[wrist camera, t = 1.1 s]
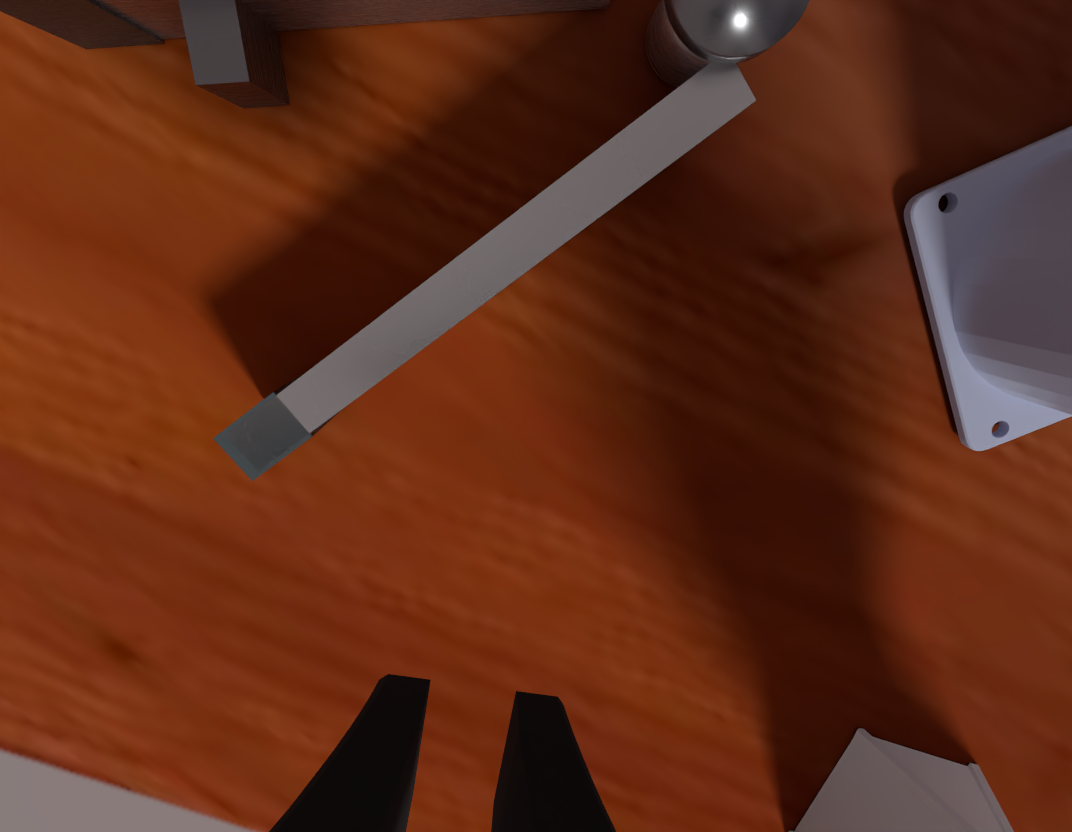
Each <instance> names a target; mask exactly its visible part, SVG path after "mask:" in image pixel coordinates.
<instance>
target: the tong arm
mask: <svg viewBox="0 0 1072 832" xmlns="http://www.w3.org/2000/svg"><path fill="white" fill-rule="evenodd" d="M645 48H646V54H647V58H648V61H649V64H650V65H651V67H652V69H653V71H654V72H655V74H656V75H657V76H658V77H659V78H660V79H661V80H663V81H664V82H666V83H667V84H669V85H671V86H674V87H678V88H677V89H675V90H674V91H673V92H672V93H670V94H669V95H668V96H666V97H665V98H664V99H662V100H661V101H660V102H658V103H657V104H656V105H655V106H653V107H652V108H651V109H649V110H648V111H647V112H645V113H644V114H643V115H642V116H640V117H639V118H638V119H636V120H635V121H634V122H632V123H631V124H630V125H628V126H627V127H626V128H625V129H623V130H622V131H621V132H619V133H618V134H617V135H615V136H614V137H613V138H611V139H610V140H609V141H608V142H606V143H605V144H604V145H602V146H601V147H600V148H598V149H597V150H596V151H595V152H593V153H592V154H591V155H589V156H588V157H587V158H585V159H584V160H583V161H581V162H580V163H579V164H578V165H576V166H575V167H574V168H572V169H571V170H570V171H568V172H567V173H566V174H565V175H563V176H562V177H561V178H559V179H558V180H557V181H555V182H554V183H553V184H551V185H550V186H549V187H548V188H546V189H545V190H544V191H542V192H541V193H540V194H538V195H537V196H536V197H534V198H533V199H532V200H531V201H529V202H528V203H527V204H525V205H524V206H523V207H521V208H520V209H519V210H518V211H516V212H515V213H514V214H512V215H511V216H510V217H508V218H507V219H506V220H504V221H503V222H502V223H501V224H499V225H498V226H497V227H495V228H494V229H493V230H491V231H490V232H489V233H487V234H486V235H485V236H484V237H482V238H481V239H480V240H478V241H477V242H476V243H474V244H473V245H472V246H471V247H469V248H468V249H467V250H465V251H464V252H463V253H461V254H460V255H459V256H457V257H456V258H455V259H454V260H452V261H451V262H450V263H448V264H447V265H446V266H444V267H443V268H442V269H440V270H439V271H438V272H437V273H435V274H434V275H433V276H431V277H430V278H429V279H427V280H426V281H425V282H424V283H422V284H421V285H420V286H418V287H417V288H416V289H414V290H413V291H412V292H410V293H409V294H408V295H407V296H405V297H404V298H403V299H401V300H400V301H399V302H397V303H396V304H395V305H394V306H392V307H391V308H390V309H388V310H387V311H386V312H384V313H383V314H382V315H380V316H379V317H378V318H377V319H375V320H374V321H373V322H371V323H370V324H369V325H367V326H366V327H365V328H363V329H362V330H361V331H360V332H358V333H357V334H356V335H354V336H353V337H352V338H350V339H349V340H348V341H347V342H345V343H344V344H343V345H341V346H340V347H339V348H337V349H336V350H335V351H333V352H332V353H331V354H330V355H328V356H327V357H326V358H324V359H323V360H322V361H320V362H319V363H318V364H316V365H315V366H314V367H313V368H311V369H310V370H309V371H307V372H306V373H305V374H303V375H301V376H300V377H298V378H296V379H295V380H293V381H291V382H289V383H288V384H286V385H284V386H283V387H281V388H279V389H278V390H276V391H274V392H273V393H272V394H270V395H269V396H268V397H266V398H265V399H264V400H262V401H261V402H260V403H259V404H257V405H256V406H255V407H253V408H252V409H251V410H249V411H248V412H247V413H246V414H244V415H243V416H242V417H240V418H239V419H238V420H236V421H235V422H234V423H233V424H231V425H230V426H229V427H227V428H226V429H225V430H223V431H222V432H221V433H219V434H218V435H217V436H216V437H214V438H213V439H214V440H215V441H216V442H217V443H218V444H219V445H220V446H221V448H222V449H223V450H224V451H225V452H226V453H227V454H228V455H229V456H230V457H231V458H232V459H233V460H234V461H235V463H236V464H237V465H238V466H239V467H240V468H241V469H242V470H243V471H244V472H245V473H246V474H247V475H248V477H249V478H250V479H251V480H252V481H253V480H254V479H256V478H257V477H258V476H260V475H261V474H262V473H264V472H265V471H266V470H268V469H269V468H270V467H272V466H273V465H274V464H276V463H277V462H279V461H280V460H281V459H283V458H284V457H285V456H287V455H288V454H289V453H291V452H292V451H293V450H295V449H296V448H297V447H299V446H300V445H301V444H303V443H304V442H305V441H307V440H308V439H309V438H311V437H312V436H313V435H314V434H315V433H317V432H318V431H319V430H320V429H321V428H322V427H323V426H324V425H325V424H326V423H327V422H329V421H330V420H331V419H332V418H333V417H334V416H335V415H336V414H337V413H338V412H339V411H341V410H342V409H343V408H344V407H346V406H347V405H348V404H350V403H351V402H352V401H354V400H355V399H356V398H358V397H359V396H360V395H362V394H363V393H364V392H366V391H367V390H368V389H370V388H371V387H372V386H374V385H375V384H376V383H378V382H379V381H380V380H382V379H383V378H384V377H386V376H387V375H388V374H390V373H391V372H392V371H394V370H395V369H396V368H398V367H399V366H401V365H402V364H403V363H405V362H406V361H407V360H409V359H410V358H411V357H413V356H414V355H415V354H417V353H418V352H419V351H421V350H422V349H423V348H425V347H426V346H427V345H429V344H430V343H431V342H433V341H434V340H435V339H437V338H438V337H439V336H441V335H442V334H443V333H445V332H446V331H447V330H449V329H450V328H452V327H453V326H454V325H456V324H457V323H458V322H460V321H461V320H462V319H464V318H465V317H466V316H468V315H469V314H470V313H472V312H473V311H474V310H476V309H477V308H478V307H480V306H481V305H482V304H484V303H485V302H486V301H488V300H489V299H490V298H492V297H493V296H494V295H496V294H497V293H498V292H500V291H501V290H502V289H504V288H505V287H507V286H508V285H509V284H511V283H512V282H513V281H515V280H516V279H517V278H519V277H520V276H521V275H523V274H524V273H525V272H527V271H528V270H529V269H531V268H532V267H533V266H535V265H536V264H537V263H539V262H540V261H541V260H543V259H544V258H545V257H547V256H548V255H549V254H551V253H552V252H553V251H555V250H556V249H557V248H559V247H560V246H562V245H563V244H564V243H566V242H567V241H568V240H570V239H571V238H572V237H574V236H575V235H576V234H578V233H579V232H580V231H582V230H583V229H584V228H586V227H587V226H588V225H590V224H591V223H592V222H594V221H595V220H596V219H598V218H599V217H600V216H602V215H603V214H604V213H606V212H607V211H608V210H610V209H611V208H612V207H614V206H615V205H617V204H618V203H619V202H621V201H622V200H623V199H625V198H626V197H627V196H629V195H630V194H631V193H633V192H634V191H635V190H637V189H638V188H639V187H641V186H642V185H643V184H645V183H646V182H647V181H649V180H650V179H651V178H653V177H654V176H655V175H657V174H658V173H659V172H661V171H662V170H663V169H665V168H666V167H667V166H669V165H670V164H672V163H673V162H674V161H676V160H677V159H678V158H680V157H681V156H682V155H684V154H685V153H686V152H688V151H689V150H690V149H692V148H693V147H694V146H696V145H697V144H698V143H700V142H701V141H702V140H704V139H705V138H706V137H708V136H709V135H710V134H712V133H713V132H714V131H716V130H717V129H718V128H720V127H721V126H723V125H724V124H725V123H727V122H728V121H729V120H731V119H732V118H733V117H735V116H736V115H737V114H739V113H740V112H741V111H743V110H744V109H745V108H747V107H748V106H749V105H751V104H752V103H753V102H755V101H756V99H755V97H754V95H753V93H752V92H751V90H750V88H749V86H748V84H747V83H746V81H745V79H744V77H743V75H742V74H741V72H740V70H739V68H738V66H737V64H736V63H733V64H722V63H715V62H711V61H708V60H705V59H703V58H701V57H699V56H697V55H696V54H694V53H693V52H691V51H690V50H689V49H688V48H687V47H686V46H685V45H684V44H683V43H682V42H681V41H680V39H679V38H678V37H677V35H676V34H675V32H674V30H673V28H672V26H671V24H670V22H669V19H668V16H667V13H666V8H665V3H664V0H661V1H660V2H659V4H658V6H657V8H656V9H655V11H654V13H653V15H652V17H651V19H650V21H649V24H648V27H647V31H646V37H645Z"/></svg>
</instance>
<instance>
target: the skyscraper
mask: <svg viewBox="0 0 1072 832" xmlns="http://www.w3.org/2000/svg"><path fill="white" fill-rule="evenodd" d="M789 832H1014V831H1013V829H1012V828H1011V826H1010V824H1009V822H1008V820H1007V818H1006V816H1005V814H1004V813H1003V811H1002V809H1001V807H1000V805H999V803H998V801H997V800H996V798H995V796H994V794H993V792H992V790H991V788H990V786H989V785H988V783H987V781H986V779H985V777H984V775H983V773H982V771H981V770H980V768H979V766H978V765H976V764H973V763H969V765H968V766H965V765H962V764H959V763H956V762H952V761H949V760H946V759H943V758H939V757H936V756H933V755H930V754H927V753H923V752H920V751H917V750H914V749H910V748H907V747H904V746H901V745H898V744H894V743H891V742H888V741H885V740H881V739H878V738H875V737H872V736H871V735H870V734H869V733H868V732H867V731H866V730H864V729H863V728H859V729H858V730H857V731H856V733H855V735H854V737H853V739H852V741H851V742H850V744H849V746H848V747H847V749H846V750H845V752H844V753H843V755H842V757H841V758H840V760H839V761H838V763H837V764H836V766H835V768H834V769H833V771H832V772H831V774H830V775H829V777H828V779H827V780H826V782H825V783H824V785H823V787H822V788H821V790H820V791H819V793H818V794H817V796H816V798H815V799H814V801H813V802H812V804H811V805H810V807H809V809H808V810H807V812H806V813H805V815H804V816H803V818H802V820H801V821H800V823H799V824H798V826H797V827H796V829H795V831H789Z"/></svg>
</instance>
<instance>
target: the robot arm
mask: <svg viewBox="0 0 1072 832" xmlns="http://www.w3.org/2000/svg"><path fill="white" fill-rule="evenodd" d="M943 195H946V197H947V199H948V205H947V207H946V209H945V210H944V211H943V212H941V211H940V209H939V207H938V202H939V200H940V198H941V196H943ZM904 221H905V225H906V229H907V233H908V237H909V241H910V245H911V249H912V253H913V257H914V261H915V265H916V269H917V273H918V276H919V280H920V284H921V288H922V292H923V296H924V300H925V304H926V308H927V312H928V316H929V320H930V324H931V328H932V332H933V336H934V340H935V344H936V348H937V352H938V356H939V360H940V364H941V368H942V372H943V376H944V380H945V384H946V388H947V391H948V395H949V399H950V403H951V407H952V411H953V415H954V419H955V423H956V427H957V431H958V435H959V439H960V441H961V443H962V444H963V445H965V446H966V447H968V448H970V449H972V450H976V451H982V450H987V449H989V448H992V447H994V446H997V445H999V444H1002V443H1004V442H1007V441H1010V440H1012V439H1015V438H1017V437H1020V436H1022V435H1025V434H1027V433H1030V432H1032V431H1035V430H1037V429H1040V428H1043V427H1045V426H1048V425H1050V424H1053V423H1055V422H1058V421H1060V420H1063V419H1065V418H1068V417H1071V416H1072V126H1071V127H1068V128H1066V129H1064V130H1061V131H1059V132H1057V133H1055V134H1052V135H1050V136H1048V137H1045V138H1043V139H1041V140H1039V141H1036V142H1034V143H1032V144H1030V145H1027V146H1025V147H1023V148H1020V149H1018V150H1016V151H1014V152H1011V153H1009V154H1007V155H1005V156H1002V157H1000V158H998V159H995V160H993V161H991V162H989V163H986V164H984V165H982V166H980V167H977V168H975V169H973V170H970V171H968V172H966V173H964V174H961V175H959V176H957V177H954V178H952V179H950V180H948V181H945V182H943V183H941V184H939V185H936V186H934V187H932V188H929V189H927V190H925V191H923V192H920V193H918V194H916V195H915V196H913V197H912V198H911V199H910V200H909V201H908V203H907V204H906V206H905V209H904ZM997 422H999V427H998V428H997V430H996V431H995V432H993V433H991V432H992V427H993V426H994V424H996V423H997ZM429 686H430V680H428V679H420V678H413V677H405V676H398V675H390V674H388V675H386V676H385V677H383V678H381V679H380V680H379V681H378V683H377V685H376V687H375V689H374V691H373V692H372V694H371V696H370V697H369V699H368V701H367V702H366V704H365V705H364V707H363V709H362V710H361V712H360V713H359V715H358V716H357V718H356V719H355V721H354V722H353V724H352V725H351V727H350V728H349V730H348V731H347V732H346V734H345V735H344V737H343V738H342V740H341V741H340V742H339V744H338V745H337V747H336V748H335V749H334V751H333V752H332V753H331V755H330V756H329V757H328V759H327V760H326V761H325V763H324V764H323V765H322V766H321V768H320V769H319V770H318V772H317V773H316V774H315V776H314V777H313V778H312V780H311V781H310V782H309V783H308V785H307V786H306V787H305V789H304V790H303V791H302V793H301V794H300V795H299V796H298V798H297V799H296V800H295V801H294V803H293V804H292V805H291V806H290V808H289V809H288V810H287V811H286V813H285V814H284V815H283V816H282V817H281V818H280V820H279V821H278V822H277V823H276V824H275V825H274V827H273V828H272V829H271V830H270V831H269V832H406V827H407V822H408V817H409V811H410V806H411V801H412V796H413V790H414V784H415V777H416V771H417V764H418V758H419V751H420V745H421V738H422V732H423V725H424V719H425V712H426V706H427V699H428V693H429ZM491 832H616V830H615V828H614V826H613V824H612V822H611V820H610V818H609V816H608V814H607V811H606V809H605V807H604V805H603V803H602V801H601V799H600V796H599V794H598V792H597V790H596V787H595V785H594V783H593V780H592V778H591V776H590V773H589V771H588V768H587V766H586V764H585V761H584V759H583V757H582V754H581V752H580V749H579V746H578V744H577V741H576V739H575V736H574V734H573V731H572V728H571V725H570V723H569V720H568V717H567V714H566V711H565V708H564V705H563V703H562V702H561V701H560V699H559V698H558V697H555V696H548V695H540V694H533V693H525V692H518V691H516V694H515V699H514V704H513V709H512V714H511V719H510V724H509V729H508V734H507V739H506V744H505V749H504V754H503V759H502V764H501V769H500V774H499V779H498V784H497V789H496V793H495V798H494V806H493V818H492V830H491Z"/></svg>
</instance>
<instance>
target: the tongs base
mask: <svg viewBox="0 0 1072 832" xmlns="http://www.w3.org/2000/svg"><path fill="white" fill-rule="evenodd" d="M808 2H809V0H664V3H665V8H666V13H667V16H668V19H669V22H670V24H671V26H672V28H673V30H674V32H675V34H676V35H677V37H678V38H679V39H680V41H681V42H682V43H683V44H684V45H685V46H686V47H687V48H688V49H689V50H690V51H691V52H693V53H694V54H696V55H697V56H699V57H701V58H703V59H705V60H708V61H711V62H715V63H722V64H733V63H740V62H743V61H747V60H750V59H752V58H754V57H757V56H758V55H760V54H762V53H763V52H765V51H766V50H768V49H769V48H770V47H771V46H773V45H774V44H775V43H776V42H778V41H779V40H780V39H781V38H783V37H784V36H785V35H786V34H787V33H788V32H789V31H790V30H791V29H792V28H793V27H794V26H795V24H796V23H797V22H798V20H799V19H800V17H801V16H802V14H803V12H804V11H805V9H806V7H807V5H808ZM609 3H610V0H0V11H1V12H3V13H6V14H8V15H10V16H12V17H15V18H17V19H19V20H21V21H24V22H26V23H28V24H30V25H33V26H35V27H37V28H39V29H42V30H44V31H46V32H48V33H51V34H53V35H55V36H58V37H60V38H62V39H64V40H67V41H69V42H71V43H73V44H76V45H78V46H80V47H82V48H85V49H93V48H108V47H122V46H137V45H151V44H164V39H172V38H186V40H187V45H188V50H189V55H190V60H191V65H192V70H193V74H194V79H195V84H196V85H197V86H199V87H201V88H203V89H205V90H207V91H209V92H211V93H213V94H215V95H217V96H219V97H222V98H224V99H226V100H228V101H230V102H232V103H234V104H236V105H238V106H240V107H242V108H255V107H269V106H283V105H290V104H289V98H288V92H287V86H286V80H285V74H284V68H283V62H282V55H281V49H280V43H279V37H278V31H287V30H302V29H316V28H330V27H345V26H359V25H373V24H388V23H402V22H417V21H431V20H445V19H460V18H474V17H488V16H503V15H517V14H531V13H546V12H560V11H575V10H589V9H603V8H608V6H609Z"/></svg>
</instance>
